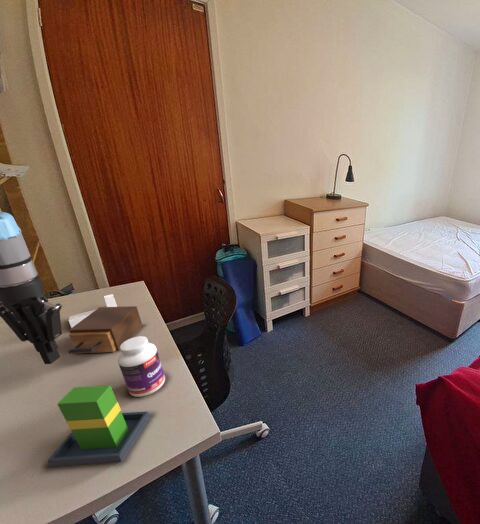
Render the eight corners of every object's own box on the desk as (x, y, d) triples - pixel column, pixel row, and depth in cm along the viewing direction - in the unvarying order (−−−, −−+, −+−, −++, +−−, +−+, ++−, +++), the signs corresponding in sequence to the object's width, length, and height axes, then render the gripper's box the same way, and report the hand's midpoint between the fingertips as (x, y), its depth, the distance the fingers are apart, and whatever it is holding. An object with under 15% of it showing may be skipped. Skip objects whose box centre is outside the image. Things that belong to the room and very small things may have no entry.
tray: (51, 468, 56) (47, 461, 55) (89, 421, 65) (86, 414, 64) (122, 462, 57) (119, 455, 56) (150, 418, 67) (147, 411, 66)
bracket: (119, 312, 108) (112, 293, 106) (120, 315, 103) (113, 296, 101) (73, 325, 99) (65, 305, 98) (72, 330, 94) (64, 309, 93)
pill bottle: (157, 397, 72) (143, 352, 66) (123, 400, 71) (105, 355, 65) (171, 373, 79) (159, 331, 74) (139, 376, 78) (125, 334, 72)
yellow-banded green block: (80, 450, 59) (56, 404, 54) (95, 431, 63) (73, 387, 57) (117, 447, 60) (96, 401, 54) (129, 429, 63) (111, 385, 58)
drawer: (104, 361, 82) (96, 343, 79) (65, 363, 80) (56, 344, 78) (136, 329, 96) (131, 312, 93) (103, 330, 95) (97, 313, 92)
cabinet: (119, 351, 87) (111, 328, 84) (78, 353, 86) (68, 330, 82) (143, 327, 98) (136, 306, 95) (107, 328, 97) (99, 307, 94)
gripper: (60, 273, 68) (90, 350, 78) (0, 273, 67) (38, 351, 76) (31, 288, 62) (68, 370, 71) (-36, 288, 60) (10, 371, 69)
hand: (52, 360), depth 73 cm, fingers closed
